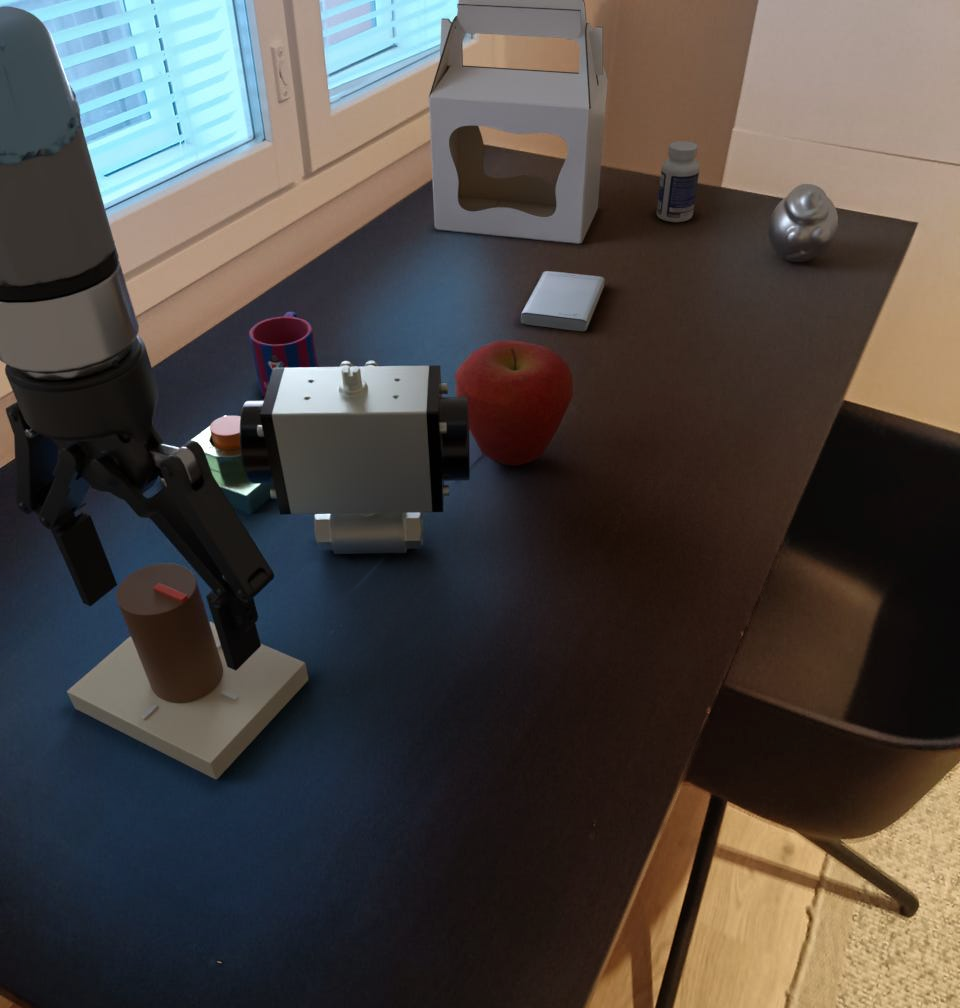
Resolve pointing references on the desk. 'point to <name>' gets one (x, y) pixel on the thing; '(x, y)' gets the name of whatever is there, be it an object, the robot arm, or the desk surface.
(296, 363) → the mug
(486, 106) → the gable box
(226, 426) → the button
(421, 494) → the ball valve
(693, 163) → the pill bottle
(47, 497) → the robot arm
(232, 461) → the button box
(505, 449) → the apple
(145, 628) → the knob
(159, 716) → the panel
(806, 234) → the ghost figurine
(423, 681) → the desk surface
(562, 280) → the hard drive
